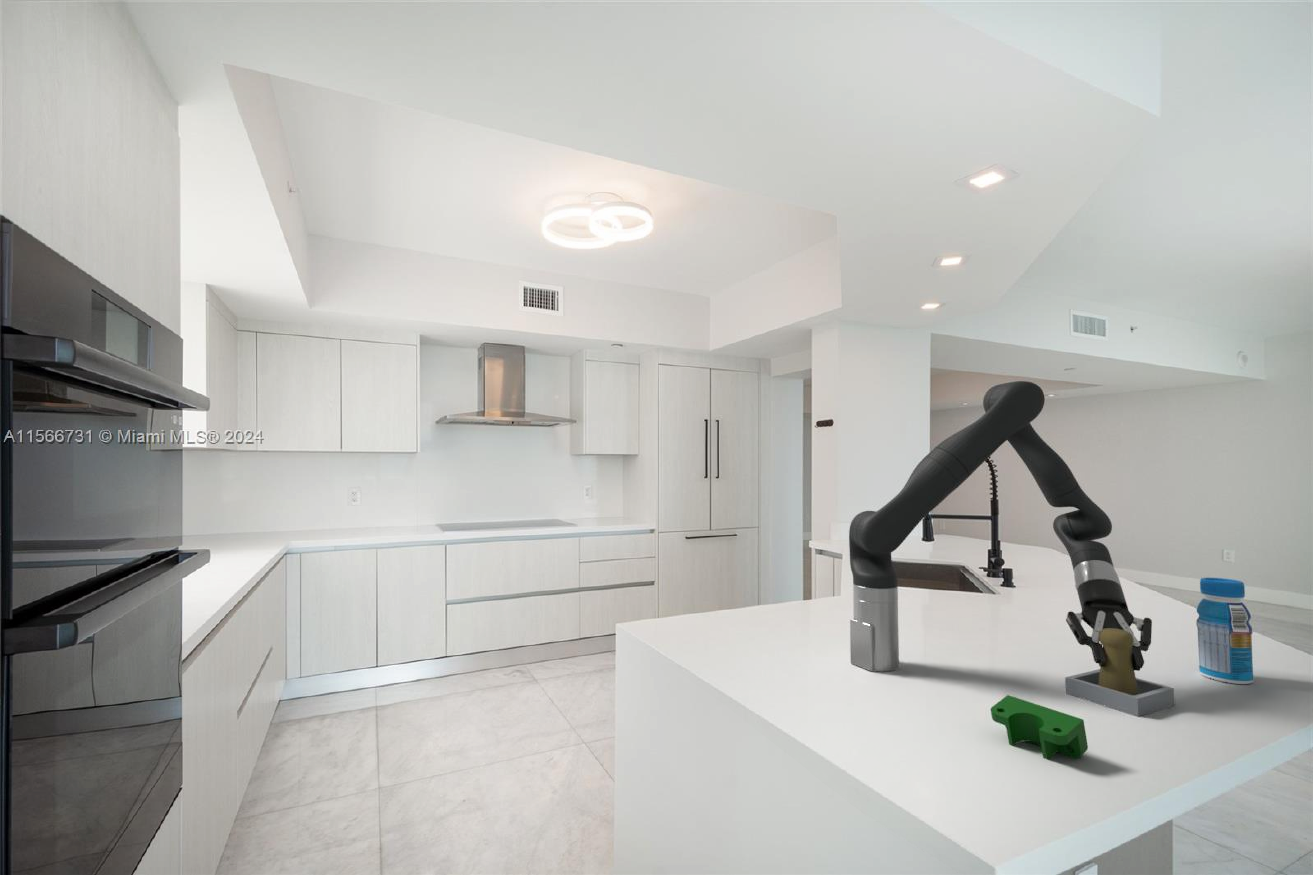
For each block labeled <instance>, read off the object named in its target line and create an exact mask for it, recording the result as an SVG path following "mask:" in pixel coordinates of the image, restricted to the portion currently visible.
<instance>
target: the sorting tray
mask: <svg viewBox="0 0 1313 875" xmlns="http://www.w3.org/2000/svg"><path fill="white" fill-rule="evenodd" d="M1099 675H1100V668H1098V669H1095V670H1091V671H1086V672H1082V673H1078V674H1073V675H1070V676H1065V678H1064V679H1065V681H1064V682H1065V694H1066V693H1068V694H1067V695H1069V694H1071V695H1070V696H1073V695H1074V697H1076V696H1078V697H1077V698H1079V697H1081V698H1080V699H1082V698H1084V699H1083V700H1085V699H1086V701H1088V700H1091V701H1093V702H1092V703H1094V702H1096V703H1095V704H1098V705H1100V706H1104V705H1105V707H1107V708H1110V709H1114V710H1117V711H1120V712H1123V713H1126V714H1130V715H1131V716H1132V715H1133V716H1135V717H1141V716H1144V715H1147V714H1151V713H1153V712H1157V711H1161V710H1163V709H1167V708H1170V707H1172V706H1176V705H1175V688H1174V687H1170V686H1167V685H1165V684H1159V683H1156V682H1153V681H1150V680H1149V681H1148V680H1144V679H1141V678H1138V677H1136V683H1137V688H1138V694H1137V695H1129V694H1126V693H1123V692H1119V691H1116V690H1112V689H1109V688H1106V687H1102V686H1099V685H1098V683H1099ZM1091 701H1090V702H1091Z"/></svg>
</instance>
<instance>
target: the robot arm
mask: <svg viewBox="0 0 1313 875" xmlns="http://www.w3.org/2000/svg"><path fill="white" fill-rule="evenodd" d="M1045 399H1046V398H1045V394H1044V391H1043V389H1042V388H1041V386H1039V384H1036V383H1034V382H1032V381H1027V380H1025V381H1024V380H1017V381H1015V380H1014V381H1009V382H1005V383H1000V384H999V383H998V384H996V385H994V386H991V387H990V388H988V389H987V391H986V392H985V394H984V397H983V399H982V400H983V402H982V405H983V409H984V410H983V411H984V412H985V413H984V414H983V415H982V416H980V417H979V418H978V419H977V420H975V421H974V422H972V423H971V424H969V425H967V426H966V427H964V428H962V429H960V430H959V431H956V432H955V433H953V434H952V435H951V436H949V437H947V438H945V439H944V440H943V441H941V442H939V444H937V446H935V447H934V448H933V449H932V450H931V451H930V452H929V453H928V454H926V455H925V456H924V457H923V458H922V459H921V461H920V462H918V464H917V465H916V466H915V468H914V469H913V470H912V472H911V474H910V476H909V477H908V480H906V483H905V485H904V486H903V488H902V489H901V490H900V491H899V492H898V493H897V494H896V495H895V496H894V497H893V498H892V499H891V500H890V501H888V502H887V503H886V504H885V505H883V506H882V507H881V508H880V509H877V511H875V510H865V511H861V512H859V513H858V514H856V515H855V516H854V517H853V519H852V520H851V523H850V525H849V530H848V546H849V565H850V570H851V573H852V574H851V575H852V582H853V584H852V588H853V589H852V590H853V592H852V594H853V595H852V596H853V599H852V600H853V606H852V607H853V618H851V619H850V620H849V625H850V626H849V630H850V631H849V632H850V634H849V636H850V637H849V640H850V648H849V649H850V663H851V664H852V665H855V666H858V667H860V668H862V669H865V670H868V671H870V672H874V671H876V672H889V671H895V670H898V669H899V668H900V649H899V648H900V646H899V642H900V641H899V601H898V600H899V590H898V589H899V586H898V584H899V583H898V581H899V580H898V574H897V572H896V569H895V568H894V564H893V561H892V553H893V552H895V550H897V549H898V548H899V547H900V546H901V545H902V543H904V541H905V540H906V539H907V538H908V537H909V535H910V534H911V533H912V532H913V530H914V529H915V528H916V527H917V526H918V525H919V523H921V521H922V520H924V518H925V517H927V515H928V514H929V513H931V512H932V511H933V510H934V509H935V508H936V507H938V506H939V504H941V503H942V502H943V501H944V500H945V499H946V498H948V497H949V495H951V494H952V493H953V492H954V491H955V490H956V489H958V488H959V487H960V486H961V485H962V484H963V483H964V482H966V480H968V478H969V477H970V476H971V475H973V473H974V472H975V471H976V470H977V469H978V468H979V467H980V466H981V465H983V463H984V462H986V461H987V460H988V459H989V458H990V457H991V456H992V455H993V454H994V453H995V452H996V451H997V450H998V449H999V448H1000V447H1001V446H1002V445H1003V444H1005V442H1008V443H1009V444H1010V445H1011V447H1012V448H1013V449H1014V450H1015V452H1016V454H1017V455H1018V456H1019V457H1020V459H1021V460H1022V462H1023V464H1025V466H1026V468H1027V470H1028V471H1029V472H1030V473H1031V475H1032V477H1033V479H1034V480H1035V482H1036V484H1037V486H1038V488H1039V490H1040V491H1041V493H1042V495H1043V497H1044V498H1045V500H1046V502H1047V503H1048V505H1050V506H1051V507H1053V508H1075V509H1076V510H1073V511H1069V512H1066V513H1062V514H1060V515H1057V516H1056V517H1055V518H1054V520H1053V523H1052V528H1053V529H1052V530H1053V531H1054V533H1055V535H1056V537H1057V538H1058V539H1059V540H1060V542H1061V543H1062V544H1063V546H1064V548H1065V550H1066V551H1067V553H1068V555H1069V557H1070V561H1071V566H1072V569H1073V574H1074V576H1073V577H1074V583H1075V585H1074V586H1075V590H1076V591H1077V596H1078V599H1079V604H1080V607H1081V612H1077V613H1075V612H1074V611H1071V610H1070V611H1068V612H1067V615H1066V618H1065V622H1066V623H1067V625H1068V626H1069V629H1070V630H1071V632H1072V633H1073V636H1074V637H1075V639H1076V642H1078V644H1079V645H1081V646H1088V647H1089V648H1090V649H1091V654H1092V657H1093V661H1094V663H1096V664H1098V667H1099V668H1100V667H1105V664H1106V659H1105V655H1104V651H1103V645H1102V644H1101V642H1100V640H1099V634H1100V631H1101V630H1102V629H1105V628H1116V629H1121V630H1125V631H1127V632H1129V633H1130V634H1131V635H1132V636H1133V639H1134V644H1133V647H1132V648H1131V649H1130V651H1131V657H1132V662H1133V668H1134V671H1137V672H1140V670H1141V669H1142V668H1143V666H1144V665H1145V660H1144V656H1143V653H1142V651H1143V652H1147V651H1148V650H1149V648H1150V645H1151V644H1152V630H1153V629H1152V626H1153V620H1152V619H1151V618H1149V617H1143V619H1142V618H1140V617H1135V616H1134V615H1133V614H1132V612H1130V611H1129V608H1128V604H1127V601H1126V597H1125V594H1124V591H1123V587H1122V584H1121V581H1120V578H1119V576H1118V573H1117V571H1116V569H1115V567H1114V563H1113V560H1112V556H1111V554H1110V551H1109V549H1108V547H1107V546H1106V545H1105V544H1104V543H1102V542H1099V541H1096V540H1100V539H1103V538H1106V537H1108V536H1109V535H1110V534H1111V533H1112V530H1113V524H1112V521H1111V518H1110V517H1109V516H1108V514H1106V512H1105V511H1104V510H1103V509H1102V508H1101V507H1100V506H1098V505H1097V504H1096V503H1095V502H1094V501H1093V500H1092V499H1091V498H1090V497H1089V496H1088V495H1087V494H1086V492H1085V491H1084V490H1083V489H1082V487H1081V485H1080V484H1079V482H1078V480H1077V479H1076V477H1075V475H1074V473H1073V472H1072V470H1071V469H1070V467H1069V466H1068V464H1067V463H1066V462H1065V460H1064V459H1063V458H1062V457H1061V456H1060V454H1058V453H1057V452H1056V451H1055V450H1054V449H1053V448H1052V447H1051V446H1050V445H1048V443H1047V442H1045V441H1044V440H1043V438H1042V437H1041V436H1040V435H1039V434H1038V433H1037V431H1036V430H1035V428H1034V427H1033V425H1032V424H1031V422H1034V420H1035V419H1037V417H1038V416H1039V415H1040V413H1041V412H1042V410H1043V409H1044V406H1045ZM1082 621H1083V622H1084V623H1085V624H1087V625H1088V626H1089V627H1090V628H1091V629H1092V633H1091V636H1090V635H1088V633H1087V632H1086V631H1085V629H1084V627H1083V625H1082ZM1133 624H1134V625H1135V628H1136V629H1137V630H1138V632H1140V638H1139V640H1138V639H1137V637H1136V636H1135V635H1134V631H1133V630H1132V628H1131V626H1132V625H1133Z"/></svg>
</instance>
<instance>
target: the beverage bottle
mask: <svg viewBox="0 0 1313 875" xmlns="http://www.w3.org/2000/svg"><path fill="white" fill-rule="evenodd" d="M1199 588H1200V594H1201V595H1203V596H1204V597H1203V598H1202V599H1201V600H1200V601H1199V603H1198V605H1197V608H1196V613H1197V614H1198V617H1197V619H1196V625H1195V626H1196V628H1197V643H1198V645H1197V648H1198V662H1199V663H1198V664H1199V665H1198V669H1199V670H1198V671H1199V673H1200V674H1201V675H1202V676H1204V677H1205V678H1208V679H1210V678H1211V679H1210V680H1213V679H1214V681H1217V682H1221V683H1226V682H1227V683H1226V684H1236V685H1249V684H1252V683H1254V680H1255V679H1254V667H1253V665H1254V664H1253V643H1252V642H1253V638H1252V635H1253V627H1252V626H1251V624H1250V620H1251V618H1252V616H1251V613H1250V611H1249V609H1248V608H1247V606H1246V605H1245V604H1244V602H1243V601H1241V600H1244V599H1245V596H1246V593H1245V592H1246V591H1245V590H1246V589H1245V584H1244V582H1243V581H1241V580H1238V579H1237V580H1236V579H1230V578H1223V577H1222V578H1220V577H1201V578H1200V580H1199Z"/></svg>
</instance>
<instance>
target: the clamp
mask: <svg viewBox="0 0 1313 875" xmlns="http://www.w3.org/2000/svg"><path fill="white" fill-rule="evenodd" d="M990 714H991V719H992V721H993V722H995V723H998V724H1000V725H1003V726H1004V727H1005V729H1006V734H1007V740H1008V745H1009V746H1010V747H1011V746H1012V747H1013V746H1014V745H1015V744H1017V743H1019V742H1025V741H1026V742H1027V741H1028V742H1031V743H1033V744H1036V745H1038V746H1041V747H1040V748H1041V752H1042V753H1041V754H1042V758H1043V759H1044V760H1049V759H1050V758H1051V757H1053V755H1055V754H1056V753H1060V754H1063V755H1065V756H1068V757H1071V758H1073V759H1079V758H1080V757H1081V756H1083V755H1084V754H1085V753H1086V752H1087V750H1088V749H1089V745H1088V739H1087V731H1086V726H1085V721H1084V719H1082V718H1080V717H1077V716H1074V715H1071V714H1068V713H1065V712H1062V711H1059V710H1057V709H1056V710H1055V709H1054V708H1053V709H1052V708H1049V707H1045V706H1043V705H1040V704H1037V703H1035V702H1030V701H1027V700H1024V699H1022V698H1019V697H1017V696H1012V695H1009V694H1007V695H1006V696H1004V698H1002V699H1001V700H999V701H998V702H997V703H996V704H994V705H993V706H991V707H990Z"/></svg>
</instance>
